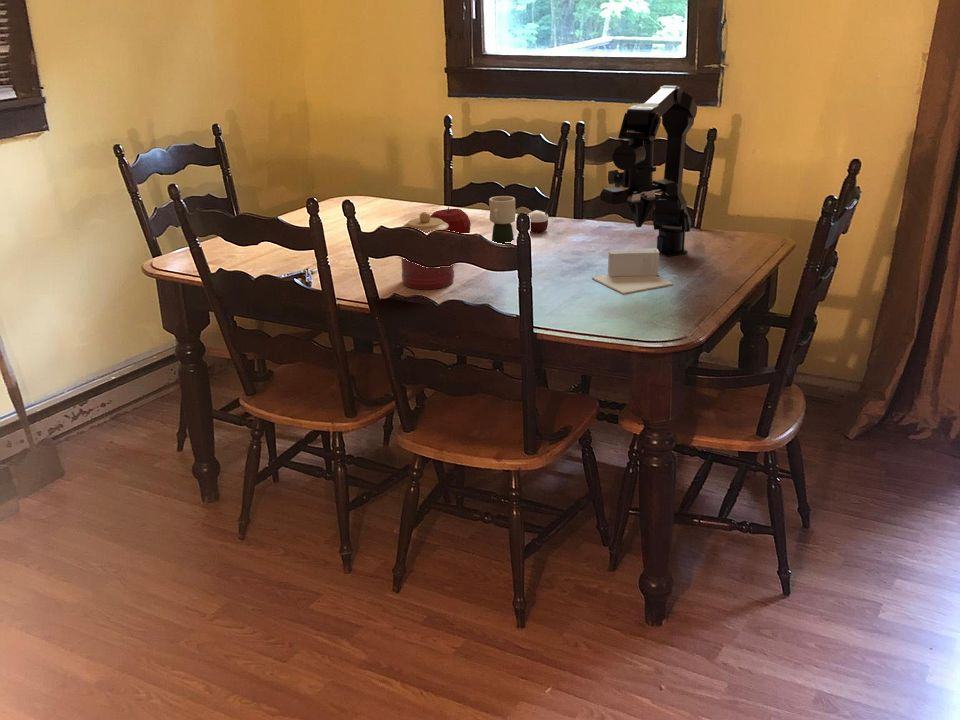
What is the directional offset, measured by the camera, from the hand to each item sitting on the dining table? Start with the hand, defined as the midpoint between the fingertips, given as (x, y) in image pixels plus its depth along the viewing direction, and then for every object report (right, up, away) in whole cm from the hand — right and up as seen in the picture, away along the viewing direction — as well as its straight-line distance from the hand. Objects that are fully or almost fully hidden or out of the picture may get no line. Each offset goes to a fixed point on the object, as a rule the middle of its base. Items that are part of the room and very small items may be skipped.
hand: (638, 226), depth 225 cm
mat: (-1, -13, +2) cm, 13 cm away
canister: (-51, -13, +7) cm, 53 cm away
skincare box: (+6, -8, +5) cm, 11 cm away
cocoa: (-21, +5, +48) cm, 52 cm away
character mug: (-32, 0, +36) cm, 48 cm away
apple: (-46, -4, +28) cm, 54 cm away
